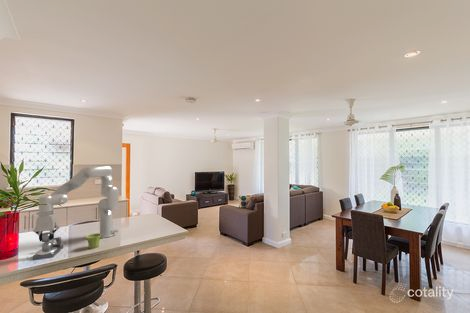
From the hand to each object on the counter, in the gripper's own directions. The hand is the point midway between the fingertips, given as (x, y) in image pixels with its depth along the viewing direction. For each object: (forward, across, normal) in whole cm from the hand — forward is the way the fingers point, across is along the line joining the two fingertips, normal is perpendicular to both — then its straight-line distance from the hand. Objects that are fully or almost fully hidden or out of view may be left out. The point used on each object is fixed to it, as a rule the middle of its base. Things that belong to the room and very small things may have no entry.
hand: (46, 239), depth 147 cm
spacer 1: (+1, 0, 0) cm, 1 cm away
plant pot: (+11, +27, +4) cm, 29 cm away
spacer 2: (+7, 0, 0) cm, 7 cm away
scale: (+11, 0, +3) cm, 11 cm away
